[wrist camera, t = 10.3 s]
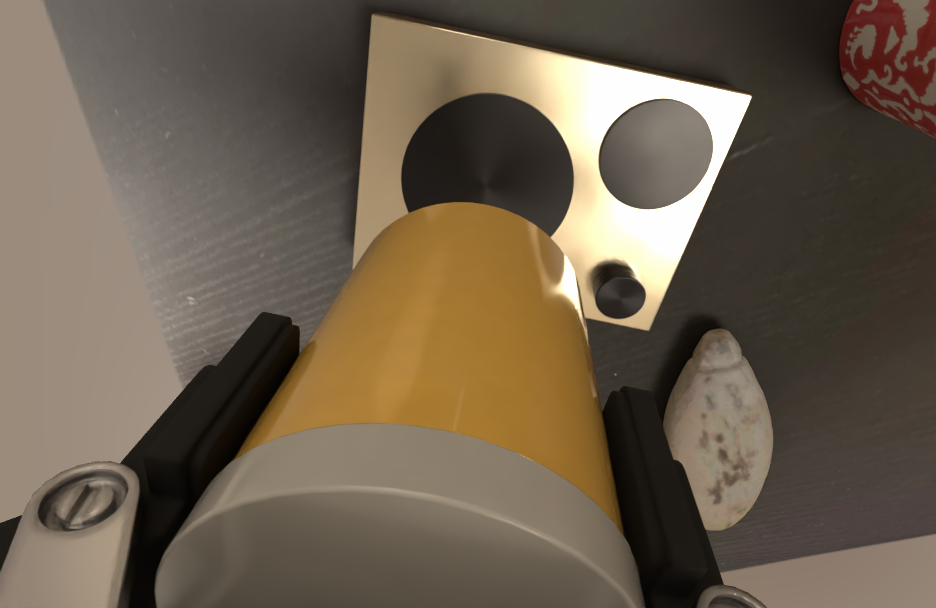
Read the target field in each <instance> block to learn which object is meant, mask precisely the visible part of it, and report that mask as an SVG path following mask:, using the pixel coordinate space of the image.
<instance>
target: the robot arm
mask: <svg viewBox="0 0 936 608" xmlns="http://www.w3.org/2000/svg"><path fill="white" fill-rule="evenodd" d="M299 339H300V330H299V327H298V326H296V325H292V320H291V318H290V317H286V316H282V315H277V314H272V313H267V312H262V313H261V314H260V315H259V316H258V317H257V318H256V319H255V321H254V322H253V323H252V324H251V325H250V327H249V328H248V329H247V330H246V331H245V333H244V334H243V335H242V336H241V337H240V339H239V340H238V341H237V342H236V343H235V345H234V346H233V347H232V348H231V349H230V351H229V352H228V353H227V354H226V355H225V357H224V358H223V359H222V360H221V362H220V363H219V364H218V365H217V366H213V365H208V366H205V367H204V368H203V369H202V370H200V371H199V373H198V374H197V375H196V376H195V377H194V378H193V379H192V381H191V382H190V383H189V384H188V385H187V386H186V388H185V389H184V390H183V391H182V392H181V393H180V395H179V396H178V397H177V398H176V399H175V400H174V401H173V403H172V404H171V405H170V406H169V407H168V408H167V410H166V411H165V412H164V413H163V414H162V416H160V418H159V419H158V420H157V421H156V422H155V423H154V425H153V426H152V427H151V428H150V429H149V431H147V433H146V434H145V435H144V436H143V437H142V439H141V440H140V441H139V442H138V443H137V444H136V445H135V447H134V448H133V449H132V450H131V451H130V452H129V454H128V455H127V456H126V457H125V458H124V459H123V461H122V462H121V463H115V462H111V461H107V462H91V463H86V464H82V465H78V466H75V467H73V468H70V469H68V470H65V471H63V472H61V473H59V474H58V475H56V476H54V477H53V478H51V479H50V480H48V481H46V482H45V483H44V484H43V485H42V486H41V487H40V488H39V489H38V490H37V491H36V492H35V493H34V494H33V495H32V497H31V499H30V500H29V502H28V504H27V506H26V508H25V510H24V512H23V515H21V516H18V517H16V518H13V519H10V520H7V521H5V522H2V523H0V608H156V605H155V597H154V586H155V578H156V571H157V568H158V566H159V563H160V561H161V558H162V556H163V553H164V552H165V550H166V549H167V547H168V546H169V544H170V542H171V541H172V539H173V538H174V536H175V535H176V533H177V532H178V530H179V529H180V527H181V526H182V524H183V523H184V521H185V519H186V518H187V516H188V515H189V513H190V512H191V510H192V509H193V507H194V506H195V504H196V503H197V501H198V500H199V498H200V496H201V495H202V493H203V492H204V491H205V489H206V488H207V487H208V485H209V484H210V482H211V481H212V480H213V478H214V477H215V476H216V475H217V474H218V473H220V472H221V471H222V470H223V469H224V468H225V467H226V466H227V465H228V464H229V463H231V462H232V460H233V459H234V457H235V455H236V454H237V452H238V451H239V449H240V448H241V446H242V444H243V443H244V441H245V440H246V438H247V437H248V435H249V433H250V432H251V430H252V429H253V427H254V425H255V424H256V422H257V421H258V419H259V418H260V416H261V414H262V413H263V411H264V410H265V408H266V407H267V405H268V403H269V402H270V400H271V399H272V397H273V396H274V394H275V392H276V391H277V389H278V388H279V386H280V384H281V383H282V381H283V380H284V378H285V377H286V375H287V373H288V372H289V370H290V369H291V367H292V366H293V364H294V362H295V361H296V359H297V358H298V356H299ZM602 414H603V420H604V425H605V431H606V436H607V442H608V447H609V453H610V458H611V464H612V469H613V475H614V480H615V486H616V491H617V497H618V502H619V508H620V514H621V519H622V525H623V530H624V536H625V540H626V541H627V543H628V544H629V547H630V549H631V551H632V554H633V556H634V558H635V561H636V563H637V567H638V572H639V577H640V582H641V587H642V593H643V598H644V603H645V608H767V607H766V606H765V605H764V604H763V603H761V602H760V601H759V600H757V599H756V598H755V597H753V596H752V595H750V594H749V593H747V592H745V591H742V590H740V589H738V588H736V587H733V586H727V585H724V584H723V581H722V578H721V575H720V572H719V569H718V566H717V563H716V560H715V557H714V554H713V551H712V548H711V545H710V542H709V539H708V536H707V533H706V530H705V527H704V524H703V521H702V518H701V515H700V512H699V509H698V507H697V504H696V501H695V498H694V495H693V492H692V489H691V486H690V483H689V480H688V477H687V474H686V471H685V469H684V467H683V465H682V463H681V462H679V461H678V460H674V459H673V456H672V453H671V450H670V447H669V444H668V441H667V438H666V434H665V431H664V428H663V425H662V422H661V419H660V416H659V413H658V409H657V406H656V403H655V400H654V397H653V395H652V393H651V392H650V391H646V390H641V389H637V388H632V387H627V386H623V387H622V388H621V389H620V391H619V392H617V391H612V392H611V394H610V396H609V398H608V400H607V403H606V405H605V407H604V410H603V412H602Z"/></svg>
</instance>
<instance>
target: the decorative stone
mask: <svg viewBox="0 0 936 608" xmlns="http://www.w3.org/2000/svg"><path fill="white" fill-rule="evenodd" d="M663 428H664V431H665V434H666V438H667V441H668V444H669V447H670V450H671V453H672V456H673V459H674V460H678V461H679V462H681V463H682V465H683V467H684V469H685V471H686V474H687V477H688V480H689V483H690V486H691V489H692V492H693V495H694V498H695V501H696V504H697V507H698V509H699V512H700V515H701V518H702V521H703V524H704V527H705V529H707V530H712V531H714V530H718V531H719V530H723V529H727V528H729V527H731V526H733V525H734V524H735V523H737V522H738V521H739V520H740V519H741V518H742V517H744V515H745V514H746V513H747V512H748V511H749V510H750V508H751V507H752V505H753V504H754V502H755V501H756V499H757V497H758V495H759V493H760V491H761V489H762V486H763V484H764V480H765V478H766V476H767V474H768V470H769V467H770V462H771V455H772V449H773V430H772V425H771V417H770V413H769V410H768V406H767V402H766V399H765V396H764V393H763V391H762V389H761V387H760V386H759V384H758V382H757V379H756V377H755V375H754V373H753V370H752V368H751V367H750V365H749V362H748V361H747V360H746V358H745V357H744V356H743V355H741V349H740V346H739V344H738V342H737V341H736V340H735V339H734V337H733V336H732V335H731V333H730V332H729V331H727V330H725V329H714V330H710V331H708V332H707V333H705V334H704V335H703V337H702V338H701V340H700V341H699V343H698V345H697V346H696V348H695V350H694V352H693V356H692V358H690V359H689V360H688V362H687V363H686V365H685V366H684V368H683V370H682V372H681V374H680V376H679V378H678V380H677V382H676V384H675V386H674V387H673V390H672V392H671V395H670V397H669V400H668V403H667V406H666V410H665V415H664V421H663Z"/></svg>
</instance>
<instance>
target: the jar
mask: <svg viewBox="0 0 936 608" xmlns="http://www.w3.org/2000/svg"><path fill="white" fill-rule="evenodd" d="M154 597H155V605H156V608H645V603H644V598H643V593H642V587H641V582H640V577H639V572H638V567H637V563H636V561H635V558H634V556H633V554H632V551H631V549H630V547H629V544H628V543H627V541H626V540H625V536H624V530H623V525H622V519H621V514H620V508H619V502H618V497H617V491H616V486H615V480H614V475H613V469H612V464H611V458H610V453H609V447H608V442H607V436H606V431H605V425H604V420H603V414H602V408H601V403H600V397H599V392H598V386H597V381H596V375H595V370H594V364H593V359H592V353H591V348H590V342H589V337H588V331H587V325H586V320H585V314H584V309H583V303H582V298H581V293H580V288H579V283H578V280H577V277H576V275H575V272H574V270H573V268H572V266H571V264H570V262H569V260H568V258H567V257H566V255H565V254H564V253H563V251H562V250H561V249H560V247H559V246H558V245H557V244H556V243H555V242H554V241H553V240H552V239H551V238H550V237H549V236H548V235H547V234H546V233H545V232H544V231H542V230H541V229H540V228H538V227H537V226H536V225H534V224H533V223H531V222H529V221H528V220H526V219H524V218H522V217H521V216H519V215H516V214H514V213H512V212H509V211H507V210H504V209H501V208H497V207H494V206H490V205H485V204H478V203H469V202H452V203H443V204H436V205H432V206H428V207H424V208H421V209H418V210H416V211H413V212H411V213H408V214H406V215H404V216H403V217H401V218H399V219H397V220H395V221H394V222H393V223H391V224H390V225H389V226H387V227H386V228H385V229H383V230H382V231H381V232H380V233H379V234H378V235H377V236H376V237H375V239H374V240H373V241H372V242H371V244H370V245H369V246H368V248H367V249H366V251H365V252H364V254H363V255H362V257H361V258H360V260H359V261H358V263H357V265H356V266H355V268H354V269H353V271H352V273H351V274H350V276H349V277H348V279H347V280H346V282H345V284H344V285H343V287H342V288H341V290H340V291H339V293H338V295H337V296H336V298H335V299H334V301H333V302H332V304H331V306H330V307H329V309H328V310H327V312H326V314H325V315H324V317H323V318H322V320H321V321H320V323H319V325H318V326H317V328H316V329H315V331H314V332H313V334H312V336H311V337H310V339H309V340H308V342H307V343H306V345H305V347H304V348H303V350H302V351H301V353H300V355H299V356H298V358H297V359H296V361H295V362H294V364H293V366H292V367H291V369H290V370H289V372H288V373H287V375H286V377H285V378H284V380H283V381H282V383H281V384H280V386H279V388H278V389H277V391H276V392H275V394H274V396H273V397H272V399H271V400H270V402H269V403H268V405H267V407H266V408H265V410H264V411H263V413H262V414H261V416H260V418H259V419H258V421H257V422H256V424H255V425H254V427H253V429H252V430H251V432H250V433H249V435H248V437H247V438H246V440H245V441H244V443H243V444H242V446H241V448H240V449H239V451H238V452H237V454H236V455H235V457H234V459H233V460H232V462H231V463H229V464H228V465H227V466H226V467H225V468H224V469H223V470H222V471H221V472H220V473H218V474H217V475H216V476H215V477H214V478H213V480H212V481H211V482H210V484H209V485H208V487H207V488H206V489H205V491H204V492H203V493H202V495H201V496H200V498H199V500H198V501H197V503H196V504H195V506H194V507H193V509H192V510H191V512H190V513H189V515H188V516H187V518H186V519H185V521H184V523H183V524H182V526H181V527H180V529H179V530H178V532H177V533H176V535H175V536H174V538H173V539H172V541H171V542H170V544H169V546H168V547H167V549H166V550H165V552H164V553H163V556H162V558H161V561H160V563H159V566H158V568H157V571H156V578H155V586H154Z"/></svg>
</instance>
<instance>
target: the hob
mask: <svg viewBox="0 0 936 608" xmlns="http://www.w3.org/2000/svg"><path fill="white" fill-rule="evenodd" d="M752 97H753V95H752V94H751V93H748V92H746V91H744V90H741V89H739V88H737V87H734V86H732V85H727V84H723V83H718V82H713V81H709V80H704V79H699V78H695V77H690V76H685V75H681V74H676V73H671V72H667V71H662V70H657V69H653V68H648V67H643V66H638V65H634V64H629V63H624V62H620V61H615V60H610V59H606V58H601V57H596V56H592V55H587V54H582V53H578V52H573V51H568V50H564V49H559V48H554V47H550V46H545V45H540V44H536V43H531V42H526V41H522V40H517V39H512V38H508V37H503V36H498V35H494V34H489V33H484V32H480V31H475V30H470V29H466V28H461V27H456V26H452V25H447V24H442V23H437V22H433V21H428V20H423V19H419V18H414V17H409V16H405V15H400V14H395V13H391V12H379V13H373V14H372V15H371V27H370V40H369V53H368V66H367V79H366V92H365V105H364V118H363V132H362V145H361V158H360V171H359V184H358V197H357V210H356V223H355V237H354V250H353V263H352V270H353V269H354V268H355V266H356V265H357V263H358V261H359V260H360V258H361V257H362V255H363V254H364V252H365V251H366V249H367V248H368V246H369V245H370V244H371V242H372V241H373V240H374V239H375V237H376V236H377V235H378V234H379V233H380V232H381V231H382V230H383V229H385V228H386V227H387V226H389V225H390V224H391V223H393V222H394V221H395V220H397V219H399V218H401V217H403V216H404V215H406V214H408V213H411V212H413V211H416V210H418V209H421V208H424V207H428V206H432V205H436V204H443V203H452V202H469V203H478V204H485V205H490V206H494V207H497V208H501V209H504V210H507V211H509V212H512V213H514V214H516V215H519V216H521V217H522V218H524V219H526V220H528V221H529V222H531V223H533V224H534V225H536V226H537V227H538V228H540V229H541V230H542V231H544V232H545V233H546V234H547V235H548V236H549V237H550V238H551V239H552V240H553V241H554V242H555V243H556V244H557V245H558V246H559V247H560V249H561V250H562V251H563V253H564V254H565V255H566V257H567V258H568V260H569V262H570V264H571V266H572V268H573V270H574V272H575V275H576V277H577V280H578V283H579V288H580V293H581V298H582V303H583V309H584V314H585V318H587V319H592V320H596V321H601V322H606V323H611V324H616V325H621V326H626V327H630V328H635V329H640V330H645V331H649V330H650V328H651V326H652V323H653V321H654V319H655V317H656V314H657V312H658V310H659V307H660V305H661V303H662V301H663V298H664V296H665V294H666V292H667V289H668V287H669V285H670V283H671V280H672V278H673V276H674V274H675V271H676V269H677V267H678V264H679V262H680V260H681V258H682V255H683V253H684V251H685V249H686V246H687V244H688V242H689V240H690V237H691V235H692V233H693V230H694V228H695V226H696V224H697V221H698V219H699V217H700V215H701V212H702V210H703V208H704V206H705V203H706V201H707V199H708V197H709V194H710V192H711V190H712V187H713V185H714V183H715V181H716V178H717V176H718V174H719V172H720V169H721V167H722V165H723V163H724V160H725V158H726V156H727V153H728V151H729V149H730V147H731V144H732V142H733V140H734V138H735V135H736V133H737V131H738V129H739V126H740V124H741V122H742V120H743V117H744V115H745V113H746V110H747V108H748V106H749V104H750V101H751V99H752Z"/></svg>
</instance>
